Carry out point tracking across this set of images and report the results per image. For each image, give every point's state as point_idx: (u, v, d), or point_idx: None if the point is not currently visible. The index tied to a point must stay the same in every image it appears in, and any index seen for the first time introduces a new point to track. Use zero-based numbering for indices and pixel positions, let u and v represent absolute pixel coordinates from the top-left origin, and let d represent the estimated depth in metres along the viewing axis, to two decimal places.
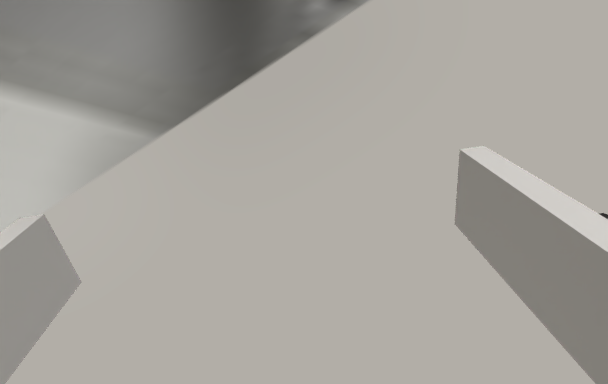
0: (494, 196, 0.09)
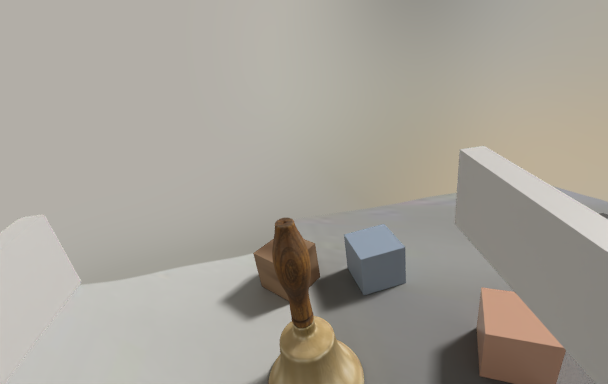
0: (493, 196, 0.09)
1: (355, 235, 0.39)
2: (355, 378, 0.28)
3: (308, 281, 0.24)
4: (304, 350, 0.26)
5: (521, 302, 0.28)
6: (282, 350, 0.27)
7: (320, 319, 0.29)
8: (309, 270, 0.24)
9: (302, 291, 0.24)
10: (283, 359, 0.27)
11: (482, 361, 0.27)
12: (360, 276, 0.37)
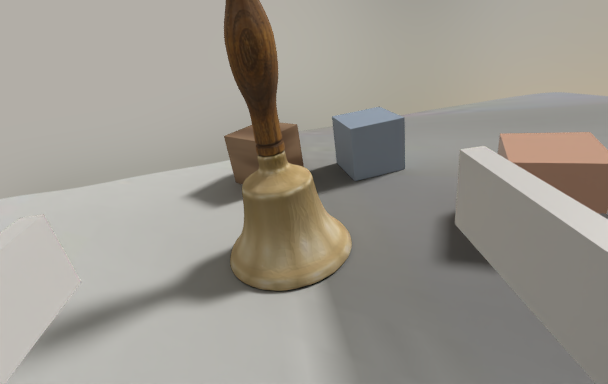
0: (494, 196, 0.09)
1: (345, 115, 0.33)
2: (339, 238, 0.22)
3: (274, 78, 0.18)
4: (271, 185, 0.20)
5: (553, 138, 0.22)
6: (244, 191, 0.21)
7: None
8: (275, 61, 0.18)
9: (266, 92, 0.18)
10: (245, 205, 0.21)
11: None
12: (350, 156, 0.31)
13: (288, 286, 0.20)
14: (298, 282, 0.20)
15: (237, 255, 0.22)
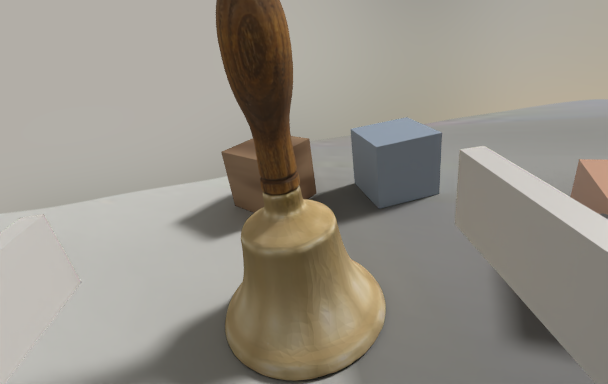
0: (493, 196, 0.09)
1: (367, 128, 0.28)
2: (371, 300, 0.17)
3: (288, 88, 0.13)
4: (281, 235, 0.14)
5: None
6: (243, 241, 0.15)
7: (312, 200, 0.17)
8: (289, 63, 0.12)
9: (276, 108, 0.13)
10: (246, 258, 0.15)
11: None
12: (374, 179, 0.25)
13: (304, 375, 0.14)
14: (318, 370, 0.14)
15: (234, 321, 0.17)
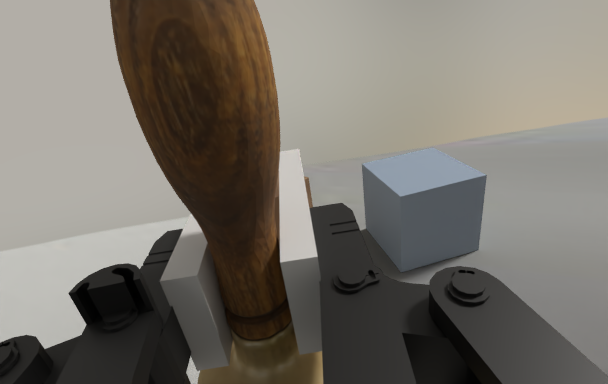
0: None
1: (383, 163, 0.21)
2: None
3: (269, 165, 0.06)
4: None
5: None
6: None
7: None
8: (272, 117, 0.06)
9: (246, 204, 0.06)
10: None
11: None
12: (396, 234, 0.19)
13: None
14: None
15: None
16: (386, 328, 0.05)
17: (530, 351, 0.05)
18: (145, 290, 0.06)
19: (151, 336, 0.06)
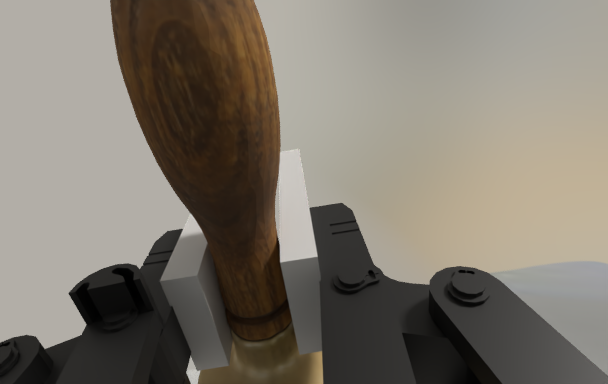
0: None
1: None
2: None
3: (269, 166, 0.06)
4: None
5: None
6: None
7: None
8: (272, 118, 0.06)
9: (247, 205, 0.06)
10: None
11: None
12: None
13: None
14: None
15: None
16: (386, 328, 0.05)
17: (530, 351, 0.05)
18: (145, 290, 0.06)
19: (151, 336, 0.06)
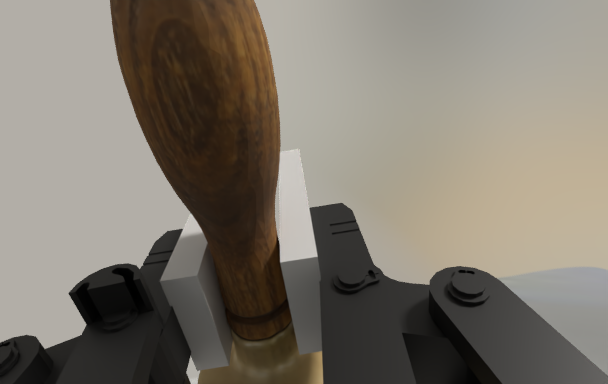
0: None
1: None
2: None
3: (269, 166, 0.06)
4: None
5: None
6: None
7: None
8: (272, 117, 0.06)
9: (246, 204, 0.06)
10: None
11: None
12: None
13: None
14: None
15: None
16: (386, 328, 0.05)
17: (530, 351, 0.05)
18: (145, 290, 0.06)
19: (151, 336, 0.06)
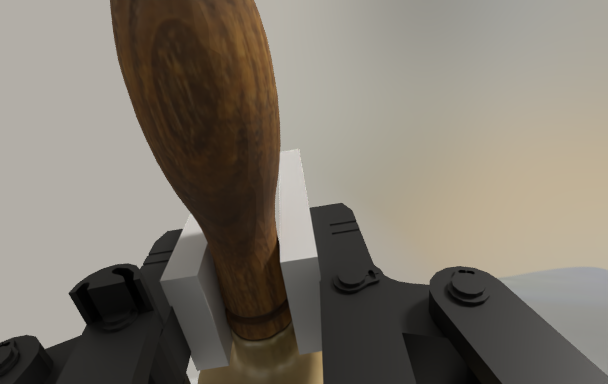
0: None
1: None
2: None
3: (269, 166, 0.06)
4: None
5: None
6: None
7: None
8: (272, 117, 0.06)
9: (246, 204, 0.06)
10: None
11: None
12: None
13: None
14: None
15: None
16: (386, 328, 0.05)
17: (530, 351, 0.05)
18: (145, 290, 0.06)
19: (151, 336, 0.06)
